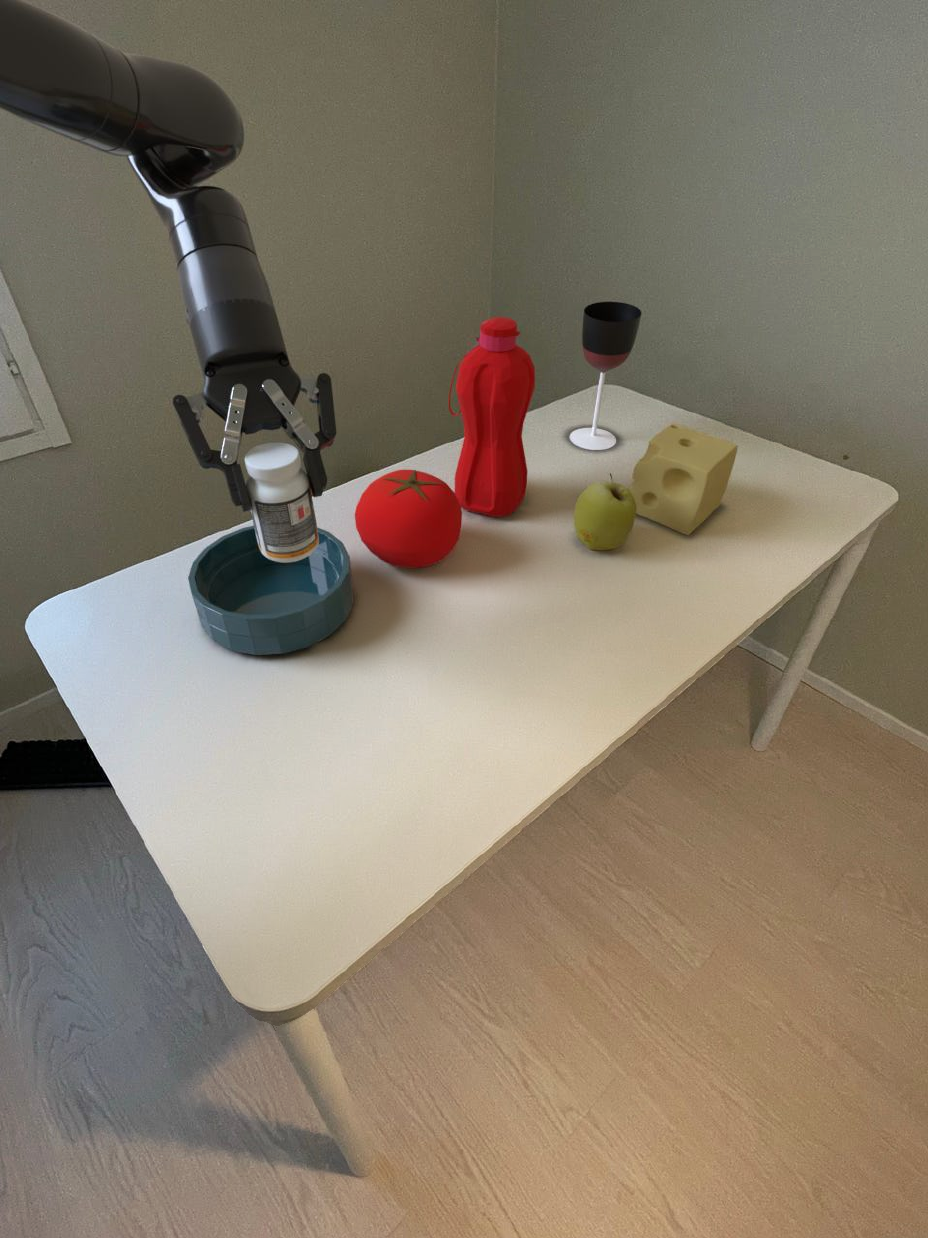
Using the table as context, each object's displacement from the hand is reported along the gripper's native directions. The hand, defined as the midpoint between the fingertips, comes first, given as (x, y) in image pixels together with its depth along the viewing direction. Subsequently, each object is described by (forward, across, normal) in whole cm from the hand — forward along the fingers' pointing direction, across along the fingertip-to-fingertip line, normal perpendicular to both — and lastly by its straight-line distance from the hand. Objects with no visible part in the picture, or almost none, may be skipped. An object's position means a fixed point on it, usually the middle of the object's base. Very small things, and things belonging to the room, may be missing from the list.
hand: (283, 501), depth 62 cm
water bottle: (-1, +30, +31) cm, 43 cm away
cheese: (+7, +54, +22) cm, 59 cm away
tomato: (+5, +16, +25) cm, 30 cm away
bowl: (+7, -2, +22) cm, 23 cm away
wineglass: (-8, +54, +38) cm, 67 cm away
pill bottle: (+3, 0, +6) cm, 7 cm away
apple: (+10, +40, +20) cm, 46 cm away
